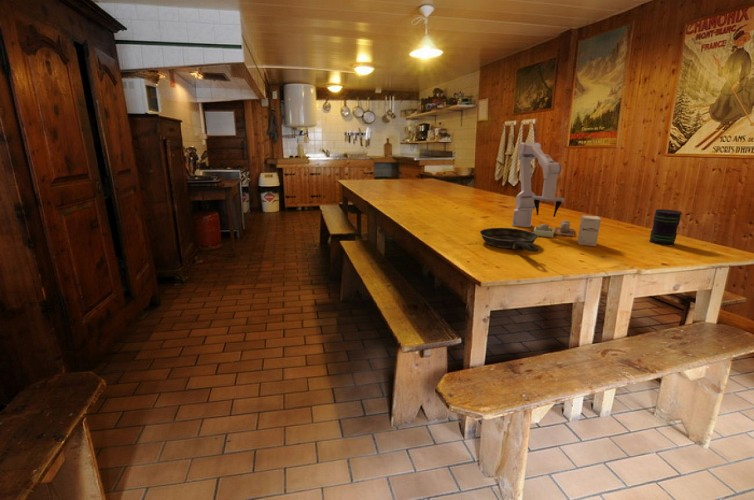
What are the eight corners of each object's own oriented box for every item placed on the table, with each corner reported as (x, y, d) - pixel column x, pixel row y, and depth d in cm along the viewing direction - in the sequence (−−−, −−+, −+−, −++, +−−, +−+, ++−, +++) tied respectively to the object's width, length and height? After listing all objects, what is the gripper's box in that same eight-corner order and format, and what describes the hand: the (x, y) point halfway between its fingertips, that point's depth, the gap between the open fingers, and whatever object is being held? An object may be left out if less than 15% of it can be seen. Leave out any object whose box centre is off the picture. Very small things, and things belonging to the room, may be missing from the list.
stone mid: (560, 232, 203) (561, 223, 201) (560, 230, 206) (561, 222, 205) (568, 233, 201) (570, 224, 200) (568, 231, 204) (569, 222, 203)
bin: (533, 235, 197) (533, 230, 196) (534, 231, 205) (535, 226, 204) (552, 237, 193) (553, 232, 193) (553, 233, 201) (554, 228, 200)
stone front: (538, 234, 198) (539, 225, 197) (539, 232, 202) (540, 223, 200) (547, 235, 196) (548, 226, 195) (548, 233, 200) (549, 224, 199)
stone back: (560, 230, 206) (561, 221, 205) (560, 228, 210) (561, 220, 209) (568, 231, 205) (569, 222, 204) (568, 229, 208) (569, 221, 207)
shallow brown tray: (554, 235, 198) (554, 233, 198) (555, 228, 212) (555, 227, 212) (574, 237, 195) (574, 235, 195) (573, 230, 209) (574, 228, 209)
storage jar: (676, 242, 186) (683, 211, 182) (672, 246, 180) (680, 214, 175) (651, 239, 193) (657, 208, 189) (646, 242, 186) (653, 211, 182)
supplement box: (578, 245, 181) (582, 217, 178) (577, 241, 188) (581, 214, 184) (596, 246, 179) (601, 219, 175) (594, 242, 185) (599, 216, 182)
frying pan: (473, 236, 194) (474, 223, 192) (525, 237, 194) (527, 224, 192) (498, 265, 152) (500, 248, 150) (564, 266, 152) (567, 249, 150)
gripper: (532, 188, 192) (529, 215, 196) (565, 190, 186) (561, 218, 190) (533, 186, 198) (530, 213, 202) (565, 188, 192) (561, 216, 196)
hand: (545, 215), depth 196 cm, fingers open, 7 cm apart
